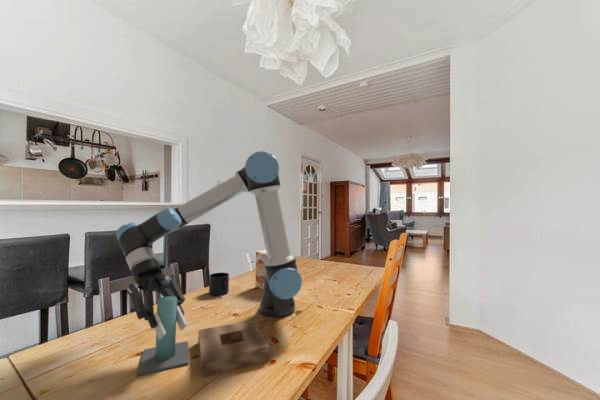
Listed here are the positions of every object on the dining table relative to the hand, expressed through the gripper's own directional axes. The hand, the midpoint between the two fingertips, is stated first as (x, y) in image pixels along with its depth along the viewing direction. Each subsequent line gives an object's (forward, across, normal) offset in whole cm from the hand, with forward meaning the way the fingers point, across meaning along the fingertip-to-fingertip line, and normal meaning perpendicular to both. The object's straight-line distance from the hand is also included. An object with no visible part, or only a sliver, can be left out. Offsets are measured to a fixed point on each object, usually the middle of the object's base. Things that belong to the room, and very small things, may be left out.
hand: (173, 331), depth 70 cm
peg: (+3, 0, -8) cm, 9 cm away
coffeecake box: (-6, -65, -18) cm, 68 cm away
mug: (-17, -46, -29) cm, 57 cm away
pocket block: (+13, -12, +1) cm, 18 cm away
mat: (+3, 0, -8) cm, 9 cm away
